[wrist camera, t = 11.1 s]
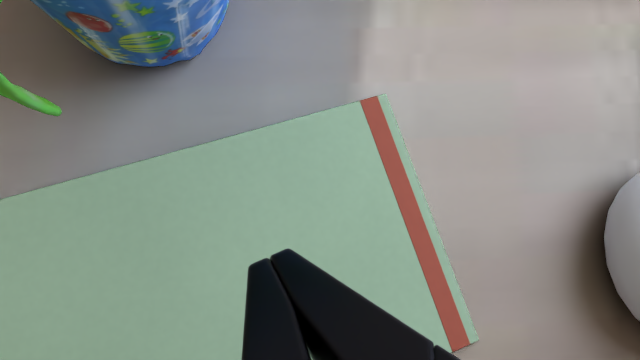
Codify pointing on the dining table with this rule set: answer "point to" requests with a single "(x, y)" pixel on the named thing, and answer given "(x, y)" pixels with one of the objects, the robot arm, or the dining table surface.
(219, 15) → the snack cup
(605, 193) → the dining table surface
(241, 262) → the green flat piece
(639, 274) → the donut
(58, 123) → the dining table surface
